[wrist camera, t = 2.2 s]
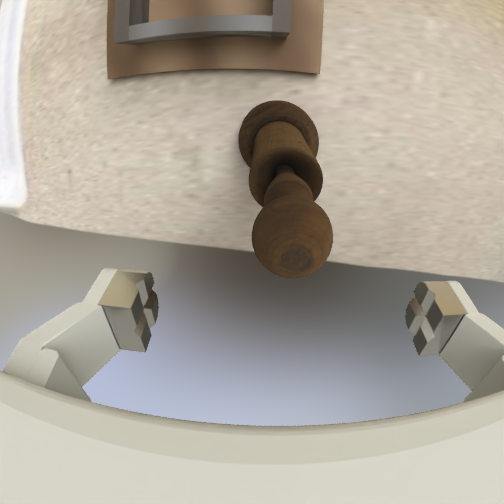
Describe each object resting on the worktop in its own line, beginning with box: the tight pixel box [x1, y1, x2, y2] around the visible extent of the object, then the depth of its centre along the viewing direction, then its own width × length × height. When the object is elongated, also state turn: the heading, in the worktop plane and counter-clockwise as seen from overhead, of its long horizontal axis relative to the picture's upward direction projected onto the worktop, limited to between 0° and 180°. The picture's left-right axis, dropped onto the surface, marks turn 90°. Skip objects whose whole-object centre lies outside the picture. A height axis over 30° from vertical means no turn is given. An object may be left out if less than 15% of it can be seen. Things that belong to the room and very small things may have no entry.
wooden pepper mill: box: [239, 101, 333, 278], centre depth 18 cm, size 7×6×18 cm
